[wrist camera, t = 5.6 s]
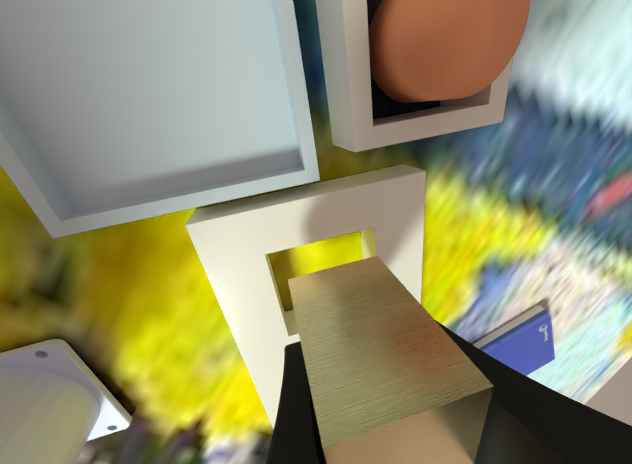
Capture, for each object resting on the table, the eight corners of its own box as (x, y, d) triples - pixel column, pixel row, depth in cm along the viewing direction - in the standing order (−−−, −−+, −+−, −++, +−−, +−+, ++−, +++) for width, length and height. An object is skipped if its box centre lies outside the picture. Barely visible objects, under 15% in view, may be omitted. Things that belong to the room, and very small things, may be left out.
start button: (370, 110, 10) (406, 108, 8) (363, -18, 9) (408, -72, 6) (455, 94, 11) (515, 88, 8) (466, -29, 9) (545, -83, 7)
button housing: (332, 144, 12) (354, 152, 10) (310, -39, 9) (333, -100, 7) (452, 121, 13) (502, 121, 11) (466, -53, 10) (540, -113, 8)
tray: (76, 224, 11) (52, 238, 10) (-177, -167, 6) (-291, -242, 5) (313, 173, 13) (320, 180, 11) (256, -176, 8) (257, -235, 6)
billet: (304, 345, 12) (343, 522, 7) (287, 279, 10) (322, 448, 5) (381, 322, 13) (472, 469, 7) (377, 255, 11) (493, 386, 6)
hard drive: (551, 312, 21) (424, 387, 22) (556, 361, 25) (448, 424, 25) (532, 300, 22) (414, 371, 23) (540, 348, 26) (438, 408, 27)
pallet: (280, 422, 21) (283, 451, 19) (195, 209, 12) (185, 225, 10) (403, 380, 22) (416, 403, 20) (403, 163, 14) (426, 170, 12)
